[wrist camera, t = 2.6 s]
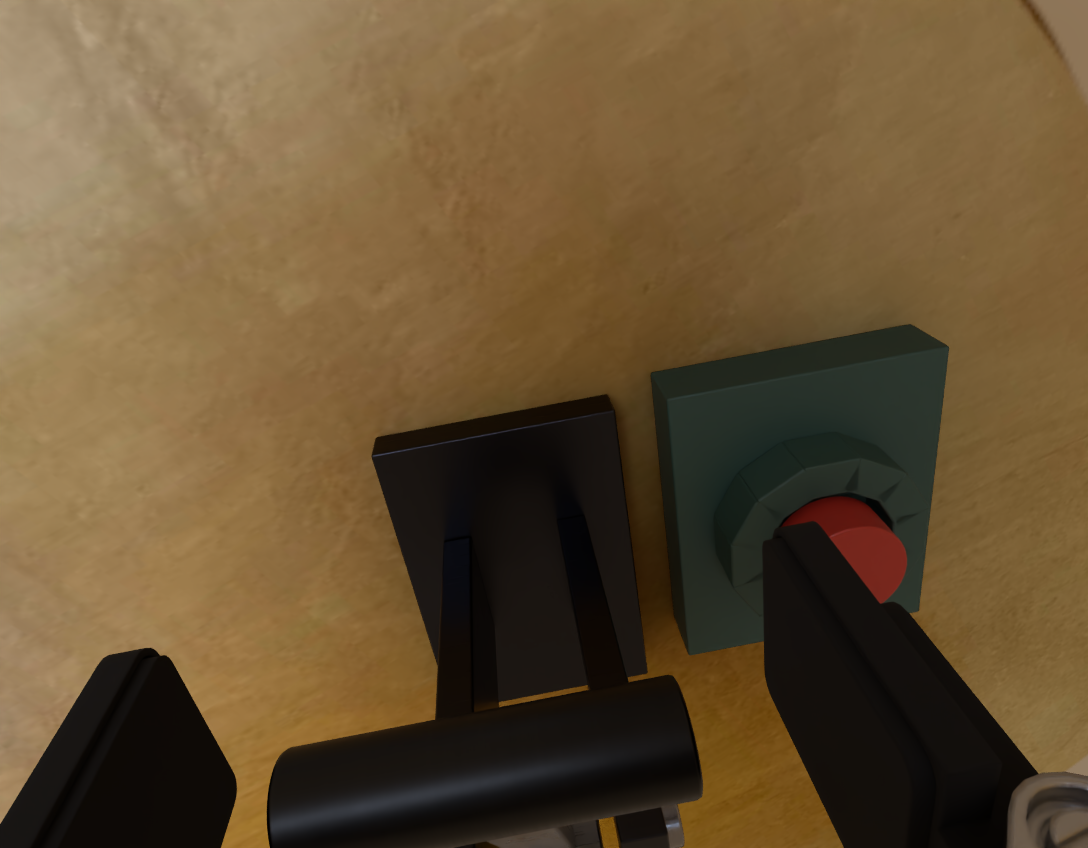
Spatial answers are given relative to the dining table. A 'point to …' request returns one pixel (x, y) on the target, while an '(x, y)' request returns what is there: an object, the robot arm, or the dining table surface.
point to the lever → (492, 774)
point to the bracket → (522, 562)
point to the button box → (791, 462)
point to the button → (859, 541)
